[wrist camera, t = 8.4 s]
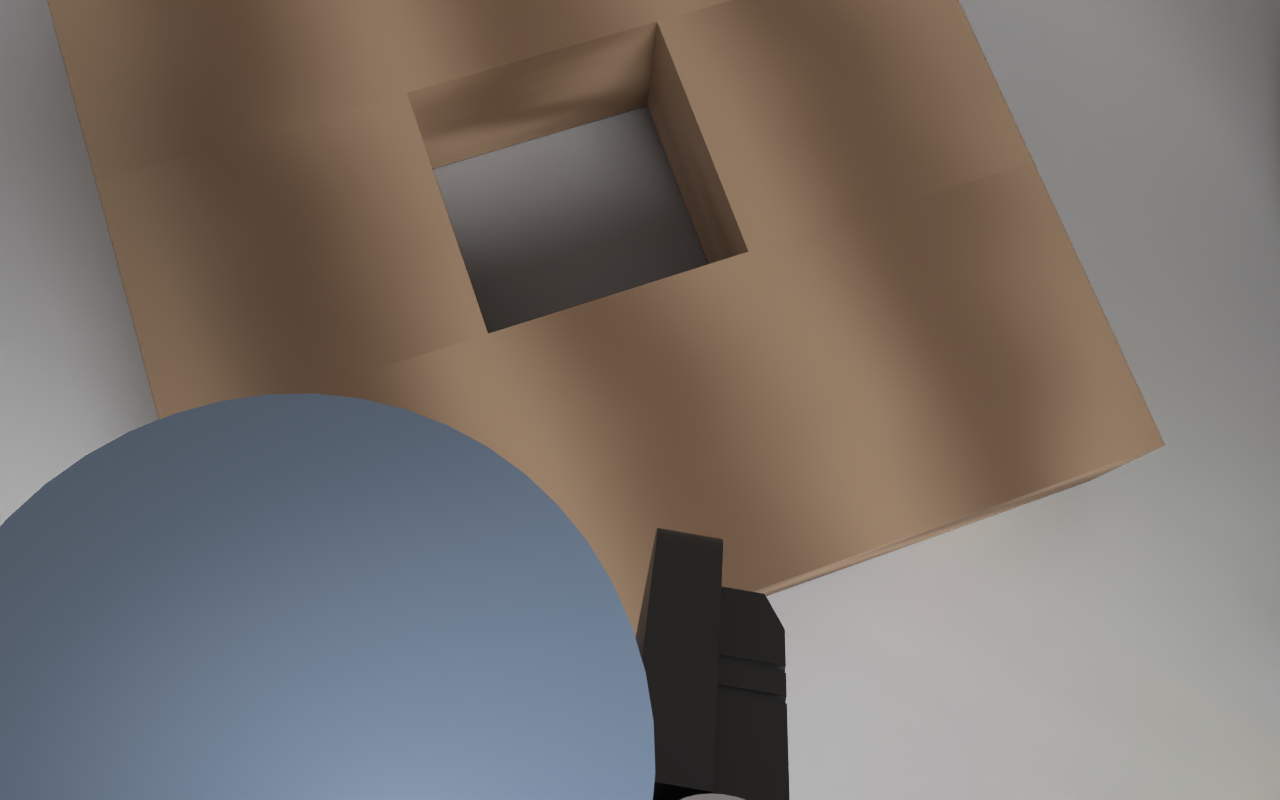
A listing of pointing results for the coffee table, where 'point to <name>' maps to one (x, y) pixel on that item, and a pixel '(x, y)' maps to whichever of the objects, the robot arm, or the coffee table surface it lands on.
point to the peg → (311, 620)
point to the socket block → (638, 317)
